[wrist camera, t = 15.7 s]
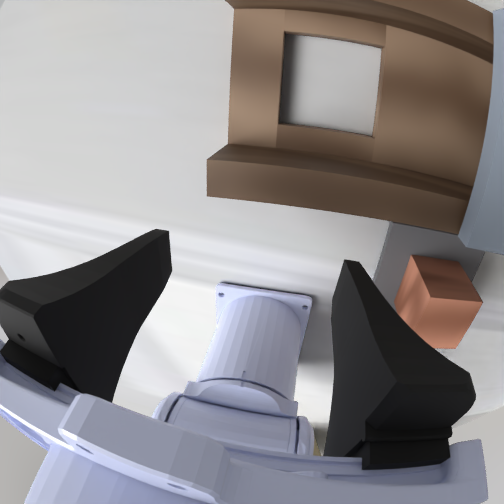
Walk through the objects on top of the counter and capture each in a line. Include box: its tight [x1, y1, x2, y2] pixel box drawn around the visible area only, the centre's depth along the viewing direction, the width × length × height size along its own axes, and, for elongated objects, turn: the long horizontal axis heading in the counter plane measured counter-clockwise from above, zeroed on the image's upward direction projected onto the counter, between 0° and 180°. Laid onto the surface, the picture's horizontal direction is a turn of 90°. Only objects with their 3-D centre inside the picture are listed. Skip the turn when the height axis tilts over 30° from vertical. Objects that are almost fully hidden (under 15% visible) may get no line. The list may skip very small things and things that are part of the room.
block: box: [394, 255, 483, 349], centre depth 19 cm, size 4×4×5 cm
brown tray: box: [207, 0, 494, 234], centre depth 13 cm, size 14×23×5 cm, turn 87°
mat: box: [373, 221, 485, 312], centre depth 21 cm, size 9×9×1 cm
